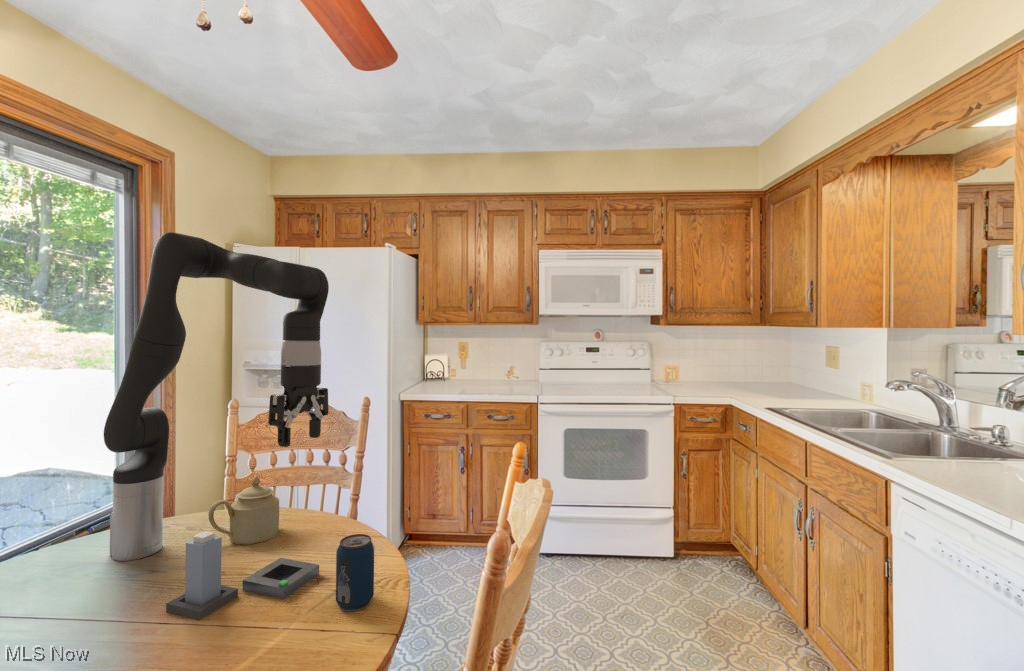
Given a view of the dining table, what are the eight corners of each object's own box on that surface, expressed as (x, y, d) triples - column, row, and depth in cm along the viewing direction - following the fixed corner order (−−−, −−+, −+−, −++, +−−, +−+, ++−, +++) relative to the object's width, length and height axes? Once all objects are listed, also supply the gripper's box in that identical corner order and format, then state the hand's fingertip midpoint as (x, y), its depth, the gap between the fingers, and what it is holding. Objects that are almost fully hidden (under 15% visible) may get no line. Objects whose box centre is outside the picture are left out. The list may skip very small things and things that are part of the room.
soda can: (374, 591, 95) (375, 531, 95) (372, 611, 88) (373, 546, 88) (338, 594, 94) (339, 534, 94) (332, 615, 87) (333, 549, 87)
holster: (165, 614, 86) (166, 603, 86) (205, 591, 94) (206, 581, 94) (199, 622, 84) (199, 611, 84) (237, 599, 91) (237, 588, 91)
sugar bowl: (243, 554, 110) (244, 490, 110) (204, 548, 112) (205, 485, 112) (288, 529, 124) (289, 472, 124) (253, 524, 127) (254, 468, 127)
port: (242, 592, 94) (242, 577, 94) (280, 569, 103) (280, 554, 103) (283, 601, 91) (283, 585, 91) (319, 576, 100) (319, 561, 100)
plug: (184, 607, 87) (185, 537, 87) (204, 596, 91) (205, 528, 91) (201, 611, 86) (202, 540, 86) (220, 600, 90) (221, 531, 90)
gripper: (310, 360, 105) (309, 433, 105) (258, 364, 91) (257, 448, 91) (339, 361, 103) (337, 436, 103) (290, 365, 89) (289, 451, 89)
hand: (300, 441), depth 97 cm, fingers open, 8 cm apart
